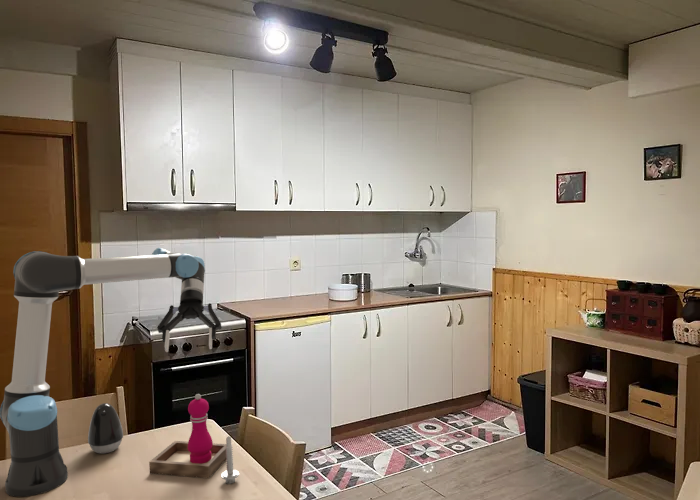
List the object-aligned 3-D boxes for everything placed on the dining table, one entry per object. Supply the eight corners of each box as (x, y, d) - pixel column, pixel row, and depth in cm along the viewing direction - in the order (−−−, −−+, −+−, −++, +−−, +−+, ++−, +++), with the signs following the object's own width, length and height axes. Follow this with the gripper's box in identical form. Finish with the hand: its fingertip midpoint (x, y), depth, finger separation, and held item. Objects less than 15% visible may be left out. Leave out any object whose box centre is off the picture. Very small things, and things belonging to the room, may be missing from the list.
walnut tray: (149, 473, 155) (149, 461, 154) (175, 451, 169) (174, 440, 168) (209, 478, 151) (208, 466, 151) (230, 455, 165) (229, 444, 165)
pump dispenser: (87, 460, 164) (84, 411, 163) (89, 446, 174) (87, 401, 173) (123, 453, 168) (121, 406, 167) (123, 441, 178) (121, 396, 177)
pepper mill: (206, 465, 156) (203, 398, 155) (183, 464, 158) (180, 397, 156) (217, 454, 163) (214, 390, 162) (195, 453, 165) (192, 389, 163)
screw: (239, 476, 152) (238, 485, 147) (222, 478, 151) (220, 486, 146) (238, 431, 151) (236, 439, 146) (220, 433, 150) (218, 440, 145)
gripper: (229, 299, 190) (229, 351, 176) (156, 303, 186) (149, 357, 172) (228, 286, 184) (227, 339, 171) (152, 290, 180) (145, 344, 166)
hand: (188, 348), depth 171 cm, fingers open, 13 cm apart
